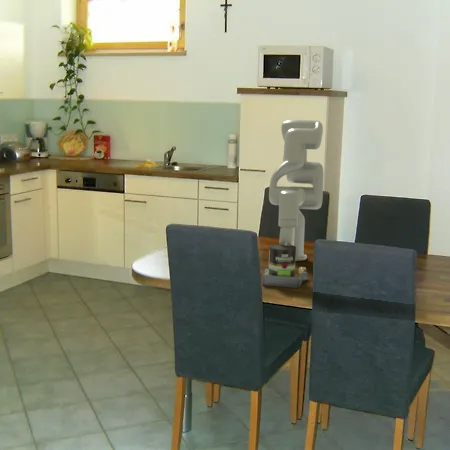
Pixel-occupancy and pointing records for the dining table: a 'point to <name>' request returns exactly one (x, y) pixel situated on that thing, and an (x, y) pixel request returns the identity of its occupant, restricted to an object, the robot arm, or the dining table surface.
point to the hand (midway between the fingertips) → (286, 267)
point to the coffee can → (282, 260)
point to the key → (302, 269)
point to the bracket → (283, 280)
